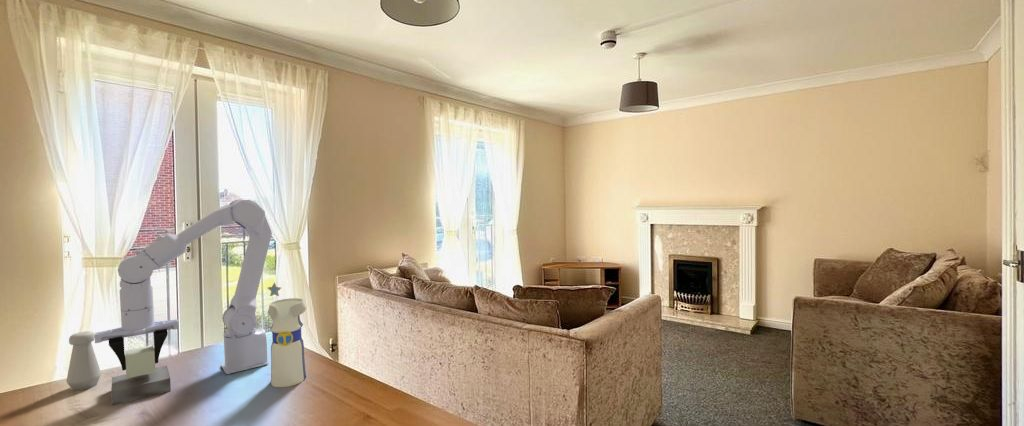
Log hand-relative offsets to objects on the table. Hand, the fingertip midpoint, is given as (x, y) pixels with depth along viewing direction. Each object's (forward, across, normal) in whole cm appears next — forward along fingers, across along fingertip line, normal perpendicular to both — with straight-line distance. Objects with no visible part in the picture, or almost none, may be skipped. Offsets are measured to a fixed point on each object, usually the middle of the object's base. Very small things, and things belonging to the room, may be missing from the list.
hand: (140, 365), depth 100 cm
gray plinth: (+6, 0, 0) cm, 6 cm away
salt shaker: (+6, -10, +12) cm, 17 cm away
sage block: (+2, 0, 0) cm, 2 cm away
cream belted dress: (+6, +27, -18) cm, 33 cm away
